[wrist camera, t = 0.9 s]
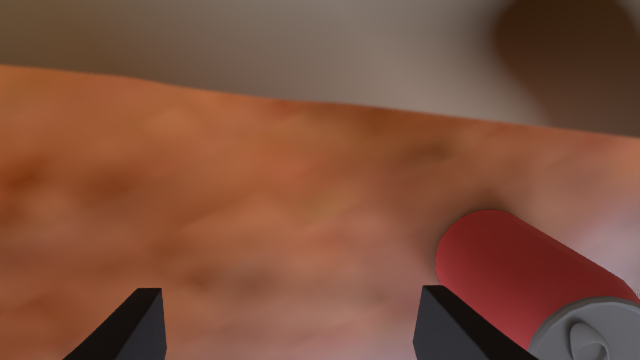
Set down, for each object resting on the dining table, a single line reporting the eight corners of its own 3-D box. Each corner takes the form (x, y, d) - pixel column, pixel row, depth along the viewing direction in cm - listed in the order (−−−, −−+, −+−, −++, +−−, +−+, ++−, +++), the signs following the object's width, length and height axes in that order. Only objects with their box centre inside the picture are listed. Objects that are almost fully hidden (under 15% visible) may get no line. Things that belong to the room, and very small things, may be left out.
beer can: (504, 187, 28) (644, 253, 16) (550, 272, 29) (713, 391, 17) (413, 240, 29) (484, 341, 17) (461, 321, 30) (560, 469, 18)
